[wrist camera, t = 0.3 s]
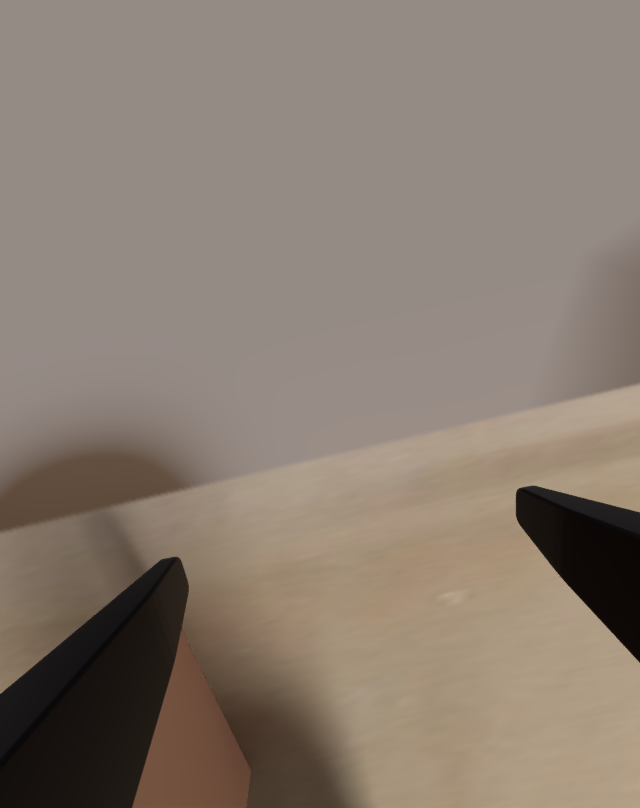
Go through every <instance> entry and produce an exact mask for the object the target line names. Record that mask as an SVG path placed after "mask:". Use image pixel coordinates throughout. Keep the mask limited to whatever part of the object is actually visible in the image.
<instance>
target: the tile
mask: <svg viewBox="0 0 640 808" xmlns="http://www.w3.org/2000/svg"><path fill="white" fill-rule="evenodd" d="M250 777H251V769H250V767H249V765H248V763H247V761H246V759H245V757H244V755H243V753H242V751H241V749H240V747H239V745H238V743H237V741H236V739H235V737H234V735H233V733H232V731H231V729H230V727H229V725H228V723H227V721H226V719H225V717H224V715H223V713H222V711H221V709H220V707H219V705H218V703H217V701H216V698H215V696H214V694H213V692H212V690H211V688H210V686H209V684H208V682H207V680H206V678H205V676H204V674H203V672H202V670H201V668H200V666H199V664H198V662H197V660H196V658H195V656H194V654H193V652H192V650H191V648H190V646H189V644H188V642H187V640H186V638H185V636H184V634H183V632H182V630H181V634H180V639H179V644H178V649H177V654H176V658H175V663H174V666H173V670H172V674H171V677H170V681H169V684H168V687H167V691H166V694H165V698H164V701H163V704H162V708H161V711H160V715H159V718H158V722H157V725H156V728H155V732H154V735H153V739H152V742H151V745H150V749H149V752H148V756H147V759H146V763H145V766H144V769H143V773H142V776H141V780H140V783H139V786H138V790H137V793H136V797H135V800H134V803H133V807H132V808H247V800H248V792H249V785H250Z"/></svg>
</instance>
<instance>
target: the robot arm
mask: <svg viewBox="0 0 640 808" xmlns="http://www.w3.org/2000/svg"><path fill="white" fill-rule="evenodd" d="M516 517H517V521H518V523H519V524H520V526H521V527H522V528H523V530H524V531H525V532H526V533H527V535H528V536H529V537H530V539H531V540H532V541H533V542H534V544H535V545H536V546H537V548H538V549H539V550H540V551H541V553H542V554H543V555H544V557H545V558H546V559H547V560H548V562H549V563H550V564H551V566H552V567H553V568H554V569H555V570H556V572H557V573H558V574H559V575H560V577H561V578H562V579H563V580H564V581H565V582H566V583H567V584H568V586H569V587H570V588H571V589H572V590H573V591H574V592H575V593H576V594H577V595H578V596H579V597H580V599H581V600H582V601H583V602H584V603H585V604H586V605H587V606H588V607H589V608H590V609H591V610H592V612H593V613H594V614H595V615H596V616H597V617H598V618H599V619H600V620H601V621H602V622H603V623H604V625H605V626H606V627H607V628H608V629H609V630H610V631H611V632H612V633H613V634H614V635H615V636H616V638H617V639H618V640H619V641H620V642H621V643H622V644H623V645H624V646H625V647H626V648H627V649H628V650H629V652H630V653H631V654H632V655H633V656H634V657H635V658H636V659H637V660H638V661H639V662H640V512H636V511H632V510H628V509H624V508H620V507H616V506H612V505H608V504H604V503H600V502H596V501H593V500H589V499H585V498H581V497H577V496H573V495H569V494H565V493H561V492H557V491H553V490H549V489H545V488H541V487H538V486H527V487H522V488H519V489H518V490H517V492H516ZM188 592H189V585H188V581H187V577H186V574H185V571H184V568H183V565H182V562H181V560H180V558H179V557H172V558H166V559H162V560H160V561H159V562H158V563H157V564H155V565H154V566H153V567H152V568H151V569H149V570H148V571H147V572H146V573H145V574H143V575H142V576H141V577H140V578H139V579H137V580H136V581H135V582H134V583H133V584H132V585H130V586H129V587H128V588H127V589H126V590H124V591H123V592H122V593H121V594H120V595H118V596H117V597H116V598H115V599H114V600H112V601H111V602H110V603H109V604H108V605H106V606H105V607H104V608H103V609H102V610H100V611H99V612H98V613H97V614H96V615H94V616H93V617H92V618H91V619H90V620H88V621H87V622H86V623H85V624H84V625H82V626H81V627H80V628H79V629H78V630H76V631H75V632H74V633H73V634H72V635H70V636H69V637H68V638H67V639H66V640H64V641H63V642H62V643H61V644H60V645H59V646H57V647H56V648H55V649H54V650H53V651H51V652H50V653H49V654H48V655H47V656H45V657H44V658H43V659H42V660H41V661H39V662H38V663H37V664H36V665H35V666H33V667H32V668H31V669H30V670H29V671H27V672H26V673H25V674H24V675H23V676H21V677H20V678H19V679H18V680H17V681H15V682H14V683H13V684H12V685H11V686H9V687H8V688H7V689H6V690H5V691H3V692H2V693H1V694H0V808H132V807H133V803H134V800H135V797H136V793H137V790H138V786H139V783H140V780H141V776H142V773H143V769H144V766H145V763H146V759H147V756H148V752H149V749H150V745H151V742H152V739H153V735H154V732H155V728H156V725H157V722H158V718H159V715H160V711H161V708H162V704H163V701H164V698H165V694H166V691H167V687H168V684H169V681H170V677H171V674H172V670H173V666H174V663H175V658H176V654H177V649H178V644H179V639H180V634H181V629H182V624H183V618H184V613H185V608H186V603H187V598H188Z"/></svg>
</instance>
